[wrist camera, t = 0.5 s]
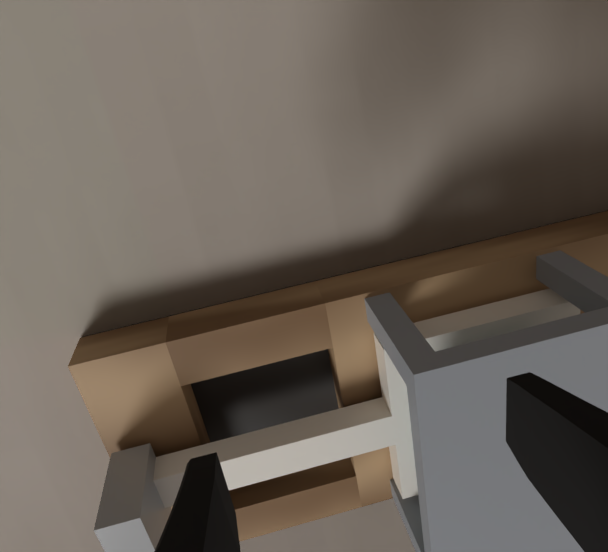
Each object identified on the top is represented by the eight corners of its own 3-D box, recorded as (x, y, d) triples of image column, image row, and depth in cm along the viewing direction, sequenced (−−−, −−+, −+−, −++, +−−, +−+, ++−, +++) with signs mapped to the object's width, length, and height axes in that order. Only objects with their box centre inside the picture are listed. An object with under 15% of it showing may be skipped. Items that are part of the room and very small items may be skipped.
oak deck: (683, 382, 27) (717, 405, 25) (162, 526, 25) (159, 564, 23) (720, 183, 22) (765, 195, 21) (80, 337, 20) (67, 366, 18)
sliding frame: (553, 433, 24) (607, 492, 20) (153, 545, 22) (145, 628, 19) (561, 285, 20) (627, 329, 17) (89, 404, 19) (66, 477, 15)
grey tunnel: (550, 450, 24) (628, 540, 20) (391, 495, 24) (435, 599, 19) (560, 250, 20) (664, 309, 15) (364, 298, 19) (413, 375, 15)
